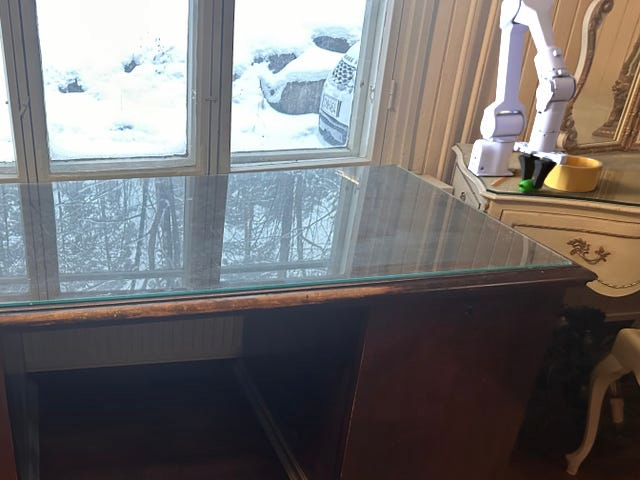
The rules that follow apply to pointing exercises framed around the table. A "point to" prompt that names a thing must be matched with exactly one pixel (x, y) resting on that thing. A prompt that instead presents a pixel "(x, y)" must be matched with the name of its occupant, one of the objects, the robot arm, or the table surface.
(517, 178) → the table surface
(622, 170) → the table surface
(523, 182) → the chili
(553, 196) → the table surface
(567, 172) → the pot
